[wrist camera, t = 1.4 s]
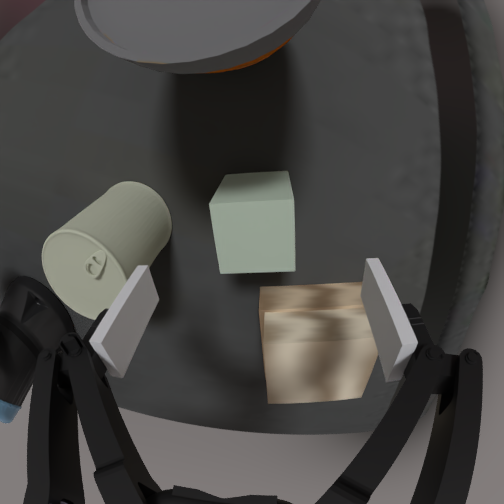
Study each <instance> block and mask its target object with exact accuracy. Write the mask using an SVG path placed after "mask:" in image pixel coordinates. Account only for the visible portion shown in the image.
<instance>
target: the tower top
mask: <svg viewBox="0 0 504 504" xmlns="http://www.w3.org/2000/svg"><path fill="white" fill-rule="evenodd" d="M263 347H264V360H265V372H266V384H267V396H268V404H280V403H306V402H321V401H333V400H343V399H352V398H360V397H361V396H362V394H363V392H364V389H365V387H366V384H367V382H368V379H369V377H370V374H371V372H372V369H373V366H374V364H375V361H376V358H377V355H378V351H377V347H376V344H375V340H374V337H373V334H372V330H371V327H370V324H369V321H368V318H367V315H366V311H365V308H364V307H363V308H350V309H335V310H317V311H295V312H265V316H264V338H263Z"/></svg>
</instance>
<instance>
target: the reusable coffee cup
mask: <svg viewBox="0 0 504 504" xmlns="http://www.w3.org/2000/svg"><path fill="white" fill-rule="evenodd" d="M319 2H320V0H74V4H75V11H76V15H77V18H78V21H79V24H80V25H81V27H82V29H83V30H84V32H85V33H86V35H87V36H88V37H89V38H90V39H91V40H92V41H93V42H94V43H95V44H97V45H98V46H99V47H100V48H101V49H103V50H105V51H107V52H109V53H111V54H113V55H115V56H117V57H119V58H122V59H124V60H127V61H129V62H132V63H134V64H137V65H139V66H142V67H145V68H149V69H152V70H155V71H159V72H167V73H176V74H193V73H196V74H198V73H219V72H225V71H231V70H237V69H242V68H245V67H248V66H251V65H254V64H256V63H258V62H260V61H262V60H264V59H266V58H268V57H269V56H270V55H271V54H273V53H274V52H275V51H277V50H278V49H279V48H281V47H282V46H284V45H285V44H286V43H287V42H288V41H289V40H290V39H291V38H292V37H293V36H294V35H295V34H296V33H297V32H298V31H299V30H300V29H301V28H302V27H303V26H304V25H305V24H306V23H307V22H308V21H309V19H310V18H311V16H312V14H313V13H314V11H315V9H316V8H317V6H318V4H319Z"/></svg>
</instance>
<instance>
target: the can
mask: <svg viewBox="0 0 504 504" xmlns="http://www.w3.org/2000/svg"><path fill="white" fill-rule="evenodd" d="M171 230H172V221H171V215H170V212H169V210H168V207H167V205H166V204H165V202H164V201H163V199H162V198H161V197H160V196H159V194H158V193H156V192H155V191H154V190H153V189H151V188H150V187H148V186H146V185H144V184H141V183H138V182H132V181H129V182H121V183H118V184H116V185H114V186H113V187H111V188H110V189H109V190H108V191H107V192H106V193H105V194H104V195H103V196H101V197H100V198H99V199H97V200H96V201H95V202H93V203H92V204H91V205H89V206H88V207H87V208H85V209H84V210H83V211H81V212H80V213H79V214H78V215H76V216H75V217H74V218H72V219H71V220H70V221H69V222H67V223H66V224H65V225H63V226H62V227H61V228H60V229H58V230H57V231H55V232H53V233H52V234H51V235H50V236H49V237H48V238H47V240H46V241H45V243H44V246H43V250H42V264H43V269H44V272H45V275H46V277H47V280H48V282H49V284H50V285H51V287H52V289H53V290H54V292H55V293H56V294H57V295H58V297H59V298H60V299H61V300H62V301H63V302H64V303H65V304H66V305H67V306H69V307H70V308H71V309H73V310H74V311H76V312H77V313H79V314H81V315H83V316H85V317H87V318H90V319H93V320H95V319H96V318H97V316H98V315H99V314H100V313H101V312H102V311H103V310H104V309H105V308H106V309H109V308H110V306H111V305H112V303H113V302H114V300H115V299H116V297H117V296H118V294H119V293H120V291H121V290H122V288H123V287H124V285H125V284H126V282H127V281H128V279H129V278H130V276H131V275H132V273H133V272H134V270H135V269H136V267H137V266H142V265H148V266H149V268H150V266H151V265H152V263H153V261H154V260H155V258H156V257H157V255H158V254H159V252H160V251H161V250H162V249H163V248H164V247H165V245H166V244H167V242H168V240H169V238H170V235H171Z"/></svg>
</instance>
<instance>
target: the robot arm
mask: <svg viewBox="0 0 504 504" xmlns="http://www.w3.org/2000/svg"><path fill="white" fill-rule="evenodd" d="M360 296H361V299H362V302H363V305H364V308H365V311H366V315H367V318H368V321H369V324H370V327H371V330H372V334H373V337H374V340H375V344H376V347H377V351H378V354H379V358H380V361H381V365H382V368H383V372H384V376H385V380H386V382H391V381H398V380H401V378H402V376H403V374H404V375H405V378H406V380H405V382H404V384H403V386H402V388H401V389H400V391H399V393H398V394H397V396H396V398H395V399H394V401H393V403H392V404H391V406H390V408H389V409H388V411H387V412H386V414H385V416H384V417H383V419H382V420H381V422H380V423H379V425H378V426H377V428H376V429H375V431H374V432H373V434H372V435H371V437H370V438H369V439H368V441H367V442H366V443H365V445H364V446H363V448H362V449H361V450H360V452H359V453H358V454H357V456H356V457H355V458H354V459H353V461H352V462H351V463H350V465H349V466H348V467H347V468H346V470H345V471H344V472H343V473H342V474H341V476H340V477H339V478H338V479H337V480H336V481H335V482H334V484H333V485H332V486H331V487H330V488H329V489H328V490H327V492H325V494H324V495H323V496H322V497H321V498H320V499H319V500H318V501H317V502H316V503H315V504H367V502H368V501H369V499H370V496H371V495H372V493H373V492H374V490H375V489H376V487H377V486H378V485H379V483H380V482H381V481H382V479H383V478H384V476H385V475H386V473H387V472H388V470H389V469H390V467H391V466H392V464H393V463H394V461H395V460H396V458H397V456H398V455H399V453H400V452H401V450H402V448H403V447H404V445H405V443H406V442H407V440H408V438H409V436H410V435H411V433H412V431H413V429H414V427H415V426H416V424H417V422H418V420H419V418H420V416H421V414H422V412H423V410H424V408H425V406H426V404H427V402H428V400H429V398H430V395H431V394H438V401H437V407H436V413H435V418H434V423H433V428H432V432H431V437H430V441H429V445H428V449H427V453H426V457H425V460H424V464H423V467H422V471H421V474H420V477H419V480H418V483H417V486H416V489H415V492H414V495H413V497H412V500H411V503H410V504H465V503H466V500H467V496H468V492H469V488H470V484H471V480H472V475H473V471H474V465H475V460H476V454H477V448H478V440H479V432H480V423H481V411H482V389H483V368H482V367H483V366H482V357H481V356H480V354H479V353H478V352H477V351H476V350H473V349H465V350H463V351H462V352H461V353H460V355H451V354H445V352H444V351H443V350H442V348H440V347H439V346H437V345H434V344H433V341H432V340H431V337H430V335H429V333H428V331H427V329H426V326H425V324H424V322H423V320H422V318H421V316H420V314H419V312H418V310H417V309H416V308H415V307H414V306H413V305H412V304H411V303H410V304H401V303H400V301H399V298H398V296H397V294H396V292H395V290H394V288H393V286H392V284H391V282H390V280H389V278H388V276H387V274H386V272H385V270H384V268H383V266H382V264H381V262H380V261H379V259H378V258H369V259H366V263H365V270H364V277H363V283H362V289H361V295H360ZM158 301H159V297H158V294H157V291H156V288H155V285H154V282H153V279H152V276H151V273H150V270H149V266H148V265H142V266H137V267H136V269H135V270H134V272H133V273H132V275H131V276H130V278H129V279H128V281H127V282H126V284H125V285H124V287H123V288H122V290H121V291H120V293H119V294H118V296H117V297H116V299H115V300H114V302H113V303H112V305H111V306H110V308H109V309H106V308H105V309H104V310H103V311H102V312H101V313H100V314H99V315H98V316H97V318H96V319H95V322H94V323H93V324H92V327H90V329H89V331H88V332H87V334H86V335H85V337H84V339H83V340H82V339H81V338H80V336H79V334H78V333H76V332H74V329H73V324H72V321H71V319H70V316H69V314H68V313H67V311H66V309H65V308H64V306H63V305H62V304H61V302H60V301H59V300H58V299H57V298H56V297H55V295H54V294H53V293H52V292H51V291H50V290H48V289H47V288H46V287H45V286H44V285H42V284H41V283H39V282H38V281H36V280H34V279H32V278H30V277H26V276H20V277H18V278H16V279H15V280H14V281H13V282H12V284H11V285H10V286H9V287H8V289H7V292H6V294H5V297H4V299H3V301H2V304H1V307H0V421H1V422H3V423H10V422H11V421H12V420H13V419H14V417H15V416H16V414H17V412H18V411H19V409H21V405H22V403H23V401H24V399H25V397H26V395H27V393H28V392H29V390H30V388H31V386H32V384H33V388H32V395H31V403H30V414H29V424H28V443H27V477H28V485H27V489H26V493H25V498H24V503H23V504H85V499H84V490H83V483H82V475H81V466H80V456H79V443H78V417H77V410H78V414H79V418H80V421H81V425H82V428H83V432H84V435H85V438H86V441H87V444H88V447H89V450H90V453H91V456H92V458H93V461H94V464H95V467H96V471H95V472H94V478H95V481H96V484H97V486H98V489H99V491H100V493H101V495H102V498H103V500H104V502H105V504H292V503H290V502H287V501H284V500H280V499H277V496H264V495H263V496H262V495H247V496H241V497H233V498H225V499H224V498H219V497H216V496H213V495H211V494H208V493H205V492H203V491H200V490H197V489H192V488H186V487H181V486H175V485H174V487H173V489H170V490H164V491H162V490H161V489H160V487H159V486H158V485H157V484H156V482H155V481H154V480H153V479H152V477H151V476H150V474H149V472H148V470H147V469H146V467H145V465H144V463H143V461H142V459H141V457H140V455H139V453H138V452H137V449H136V447H135V445H134V443H133V441H132V439H131V437H130V434H129V432H128V430H127V428H126V426H125V423H124V421H123V419H122V416H121V414H120V412H119V409H118V406H117V404H116V401H115V399H114V396H113V394H112V391H111V388H110V385H109V383H108V380H107V377H106V376H105V372H106V370H108V372H109V373H110V375H111V376H114V377H120V378H123V377H124V375H125V372H126V370H127V368H128V365H129V363H130V361H131V359H132V357H133V354H134V352H135V350H136V348H137V346H138V343H139V341H140V339H141V337H142V335H143V333H144V330H145V328H146V326H147V324H148V322H149V320H150V318H151V316H152V314H153V312H154V310H155V308H156V305H157V303H158ZM60 350H62V351H63V353H58V352H59V351H60ZM57 353H58V354H57Z"/></svg>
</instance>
